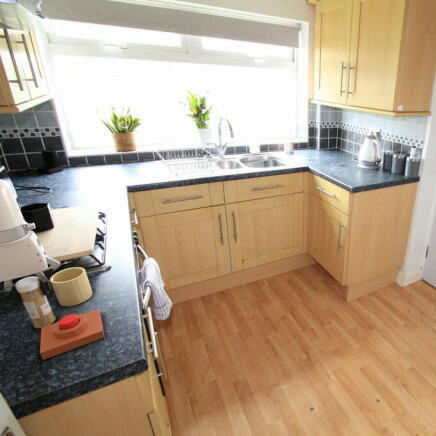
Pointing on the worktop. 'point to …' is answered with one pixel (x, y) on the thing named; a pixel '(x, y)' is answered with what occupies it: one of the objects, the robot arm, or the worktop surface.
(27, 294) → the sprinkles bottle
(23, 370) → the worktop surface
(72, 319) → the button
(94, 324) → the panel
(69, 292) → the cup
